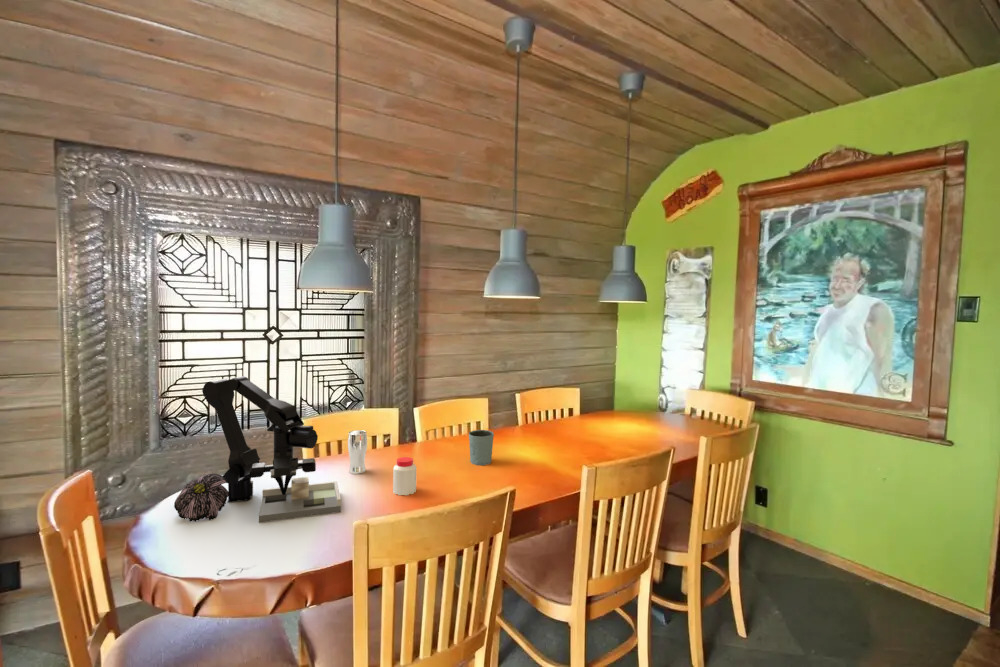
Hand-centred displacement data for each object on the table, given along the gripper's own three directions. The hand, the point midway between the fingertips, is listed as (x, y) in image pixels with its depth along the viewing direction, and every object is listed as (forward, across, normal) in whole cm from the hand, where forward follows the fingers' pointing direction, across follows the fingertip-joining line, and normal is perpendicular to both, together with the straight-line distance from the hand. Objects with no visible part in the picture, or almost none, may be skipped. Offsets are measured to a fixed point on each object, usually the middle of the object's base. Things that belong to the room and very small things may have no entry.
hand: (283, 494), depth 155 cm
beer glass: (+3, +25, +24) cm, 34 cm away
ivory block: (+1, +5, 0) cm, 5 cm away
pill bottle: (+4, +38, -1) cm, 38 cm away
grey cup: (+4, +73, +20) cm, 75 cm away
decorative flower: (+3, -22, 0) cm, 23 cm away
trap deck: (+3, +5, -4) cm, 7 cm away
